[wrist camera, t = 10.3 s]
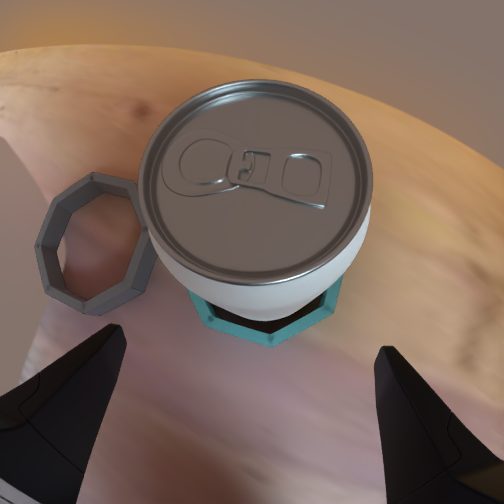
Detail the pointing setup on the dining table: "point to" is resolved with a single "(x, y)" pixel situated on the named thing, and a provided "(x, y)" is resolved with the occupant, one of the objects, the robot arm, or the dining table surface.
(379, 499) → the dining table surface
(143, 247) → the socket
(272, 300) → the can
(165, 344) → the dining table surface
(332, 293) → the socket
